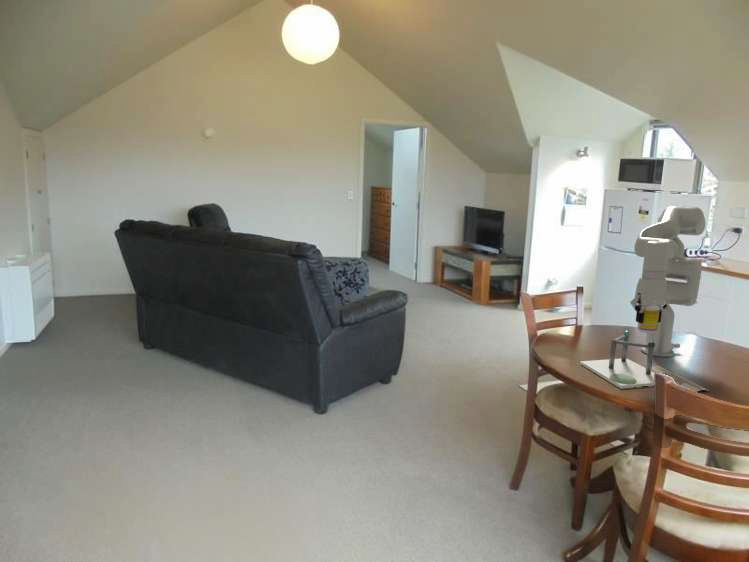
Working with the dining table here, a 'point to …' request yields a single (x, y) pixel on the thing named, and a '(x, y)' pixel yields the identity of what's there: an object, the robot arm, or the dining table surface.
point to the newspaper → (678, 379)
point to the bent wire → (625, 347)
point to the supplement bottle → (650, 319)
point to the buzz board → (621, 373)
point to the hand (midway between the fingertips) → (648, 321)
